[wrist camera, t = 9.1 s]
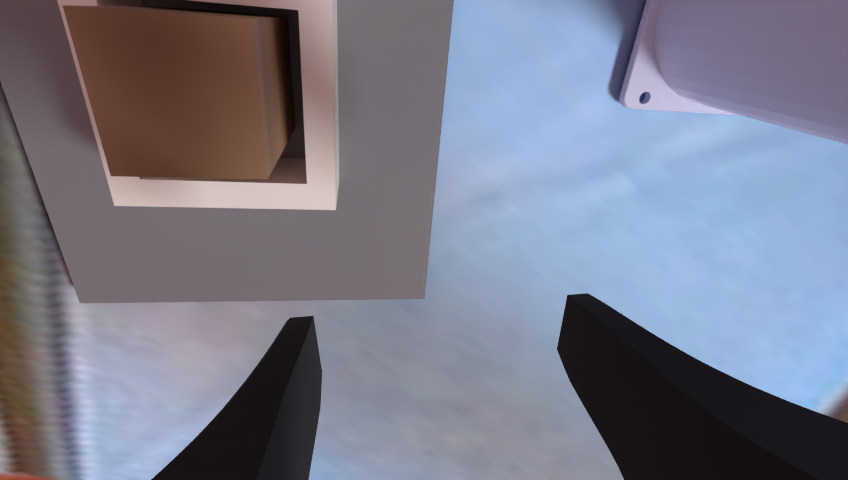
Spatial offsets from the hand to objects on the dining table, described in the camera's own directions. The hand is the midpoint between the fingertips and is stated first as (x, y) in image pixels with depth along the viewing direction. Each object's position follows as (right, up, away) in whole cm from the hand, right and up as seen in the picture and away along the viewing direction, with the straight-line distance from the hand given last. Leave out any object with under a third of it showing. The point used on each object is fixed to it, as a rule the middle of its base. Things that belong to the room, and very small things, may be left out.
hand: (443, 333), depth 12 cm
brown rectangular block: (-8, +9, +4) cm, 12 cm away
